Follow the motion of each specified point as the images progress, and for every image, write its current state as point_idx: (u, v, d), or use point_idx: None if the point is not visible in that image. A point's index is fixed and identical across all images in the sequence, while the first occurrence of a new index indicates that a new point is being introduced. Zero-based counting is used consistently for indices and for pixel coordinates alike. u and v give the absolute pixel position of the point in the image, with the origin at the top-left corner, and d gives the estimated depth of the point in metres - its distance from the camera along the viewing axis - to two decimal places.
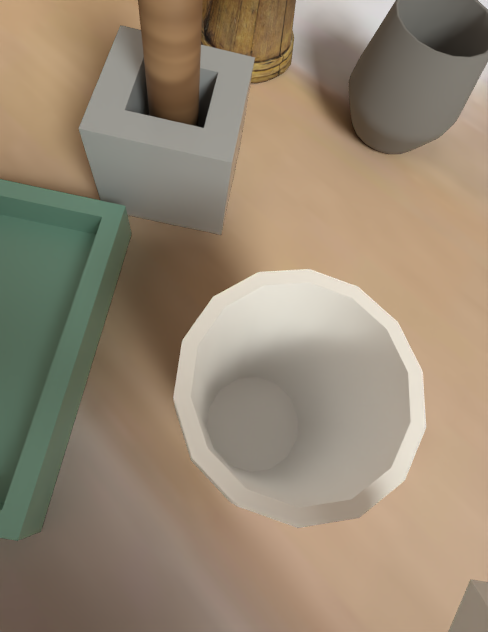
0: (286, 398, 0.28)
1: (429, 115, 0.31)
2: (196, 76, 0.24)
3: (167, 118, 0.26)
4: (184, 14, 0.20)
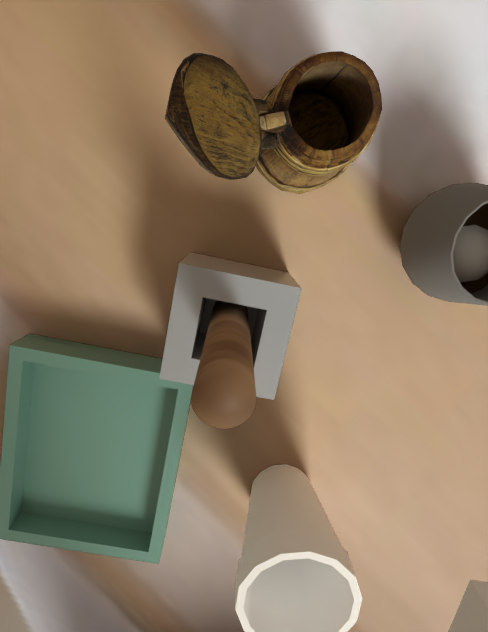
0: None
1: None
2: None
3: None
4: None
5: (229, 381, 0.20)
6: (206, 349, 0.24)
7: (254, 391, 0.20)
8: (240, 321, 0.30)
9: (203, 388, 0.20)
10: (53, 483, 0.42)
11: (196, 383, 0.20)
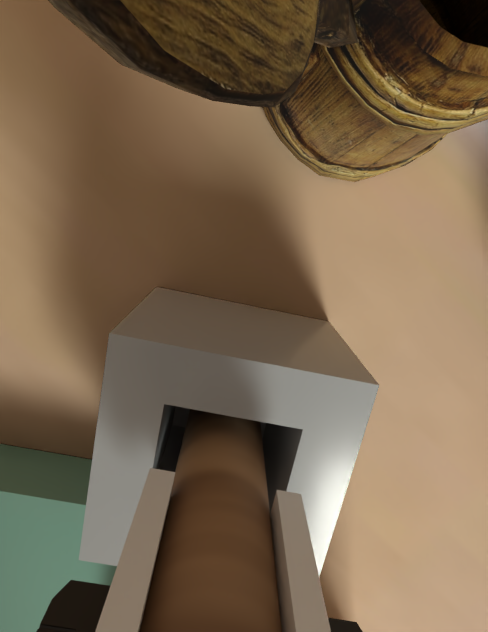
0: None
1: None
2: None
3: None
4: None
5: None
6: None
7: None
8: (246, 465, 0.13)
9: None
10: None
11: None
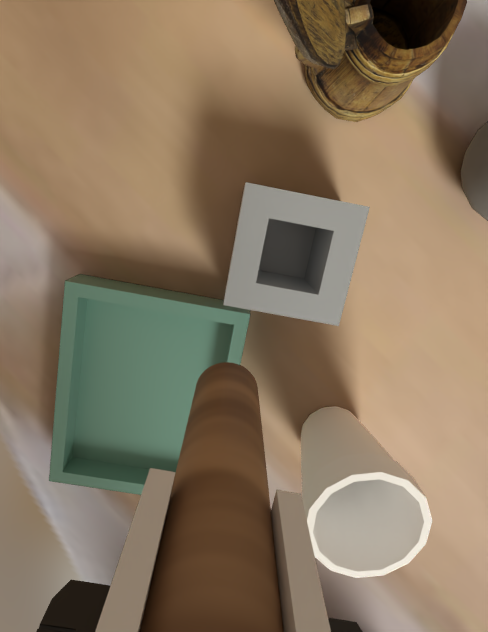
0: None
1: None
2: None
3: None
4: None
5: None
6: None
7: None
8: (247, 464, 0.13)
9: None
10: (104, 427, 0.42)
11: None
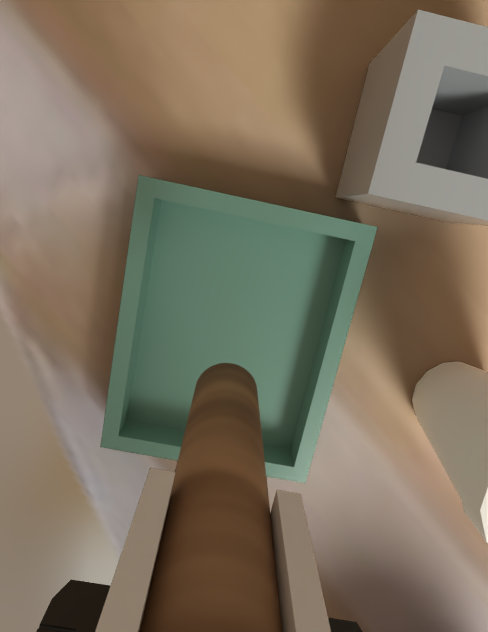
0: None
1: None
2: None
3: None
4: None
5: None
6: None
7: None
8: (246, 465, 0.13)
9: None
10: (170, 382, 0.33)
11: None
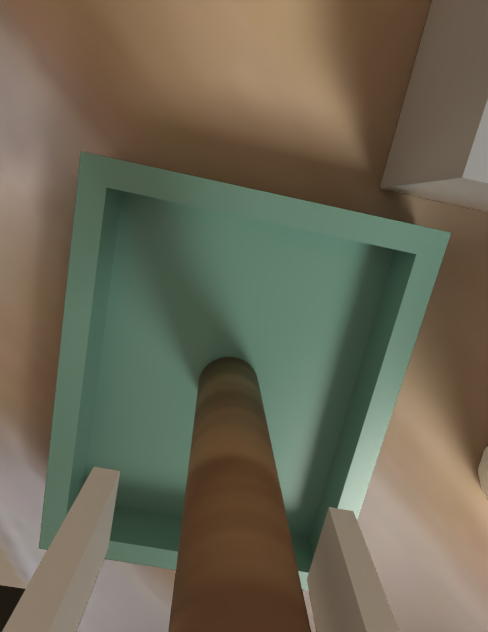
0: None
1: None
2: None
3: None
4: None
5: None
6: (186, 612, 0.09)
7: None
8: (258, 450, 0.14)
9: None
10: (141, 450, 0.23)
11: None
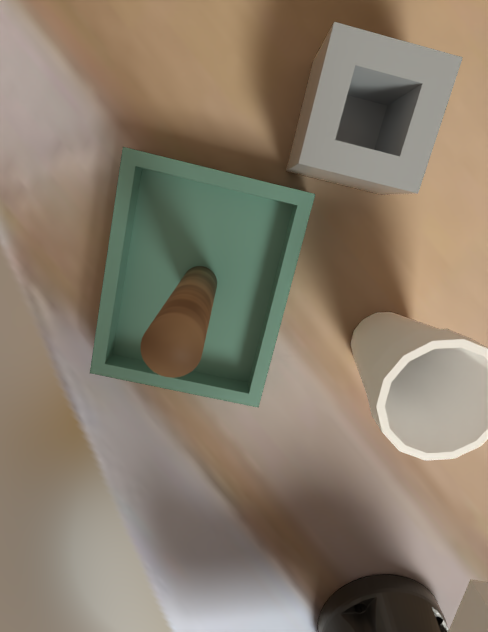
0: None
1: None
2: None
3: None
4: None
5: (176, 332, 0.21)
6: (162, 307, 0.25)
7: (200, 342, 0.22)
8: (202, 286, 0.31)
9: (152, 338, 0.22)
10: (148, 322, 0.40)
11: (145, 333, 0.21)
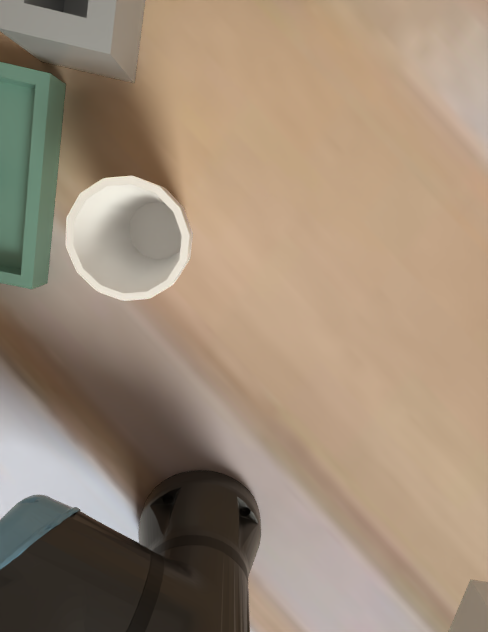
0: None
1: None
2: None
3: None
4: None
5: None
6: None
7: None
8: None
9: None
10: None
11: None
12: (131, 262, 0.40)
